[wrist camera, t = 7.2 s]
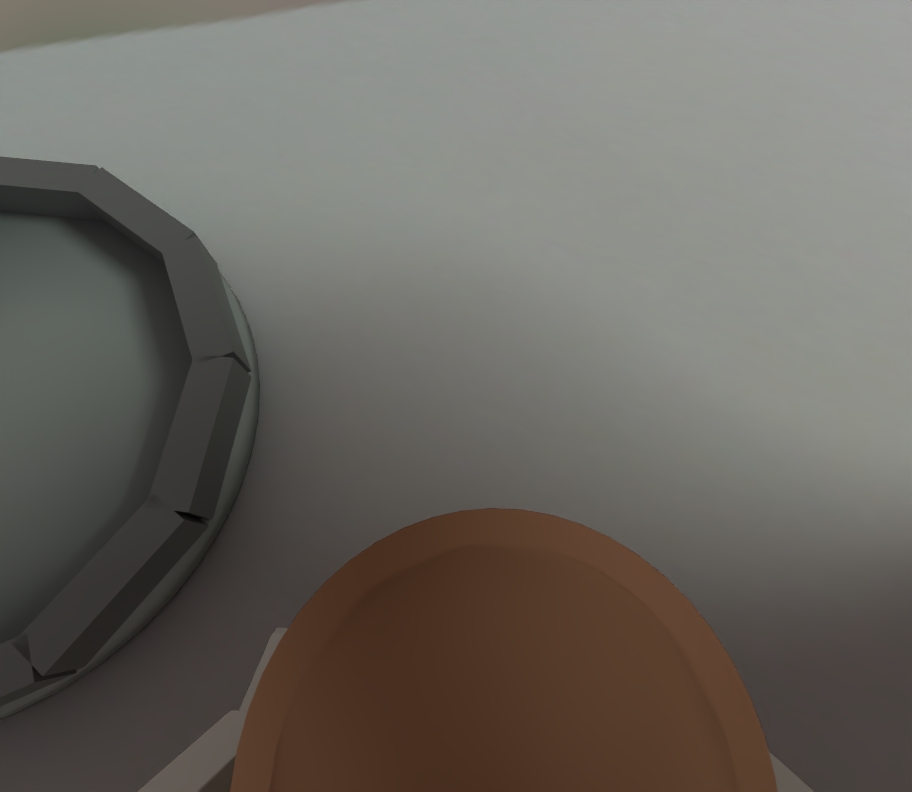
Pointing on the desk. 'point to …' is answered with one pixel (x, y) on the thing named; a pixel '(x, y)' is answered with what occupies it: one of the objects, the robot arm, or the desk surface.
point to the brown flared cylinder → (500, 673)
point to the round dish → (107, 417)
